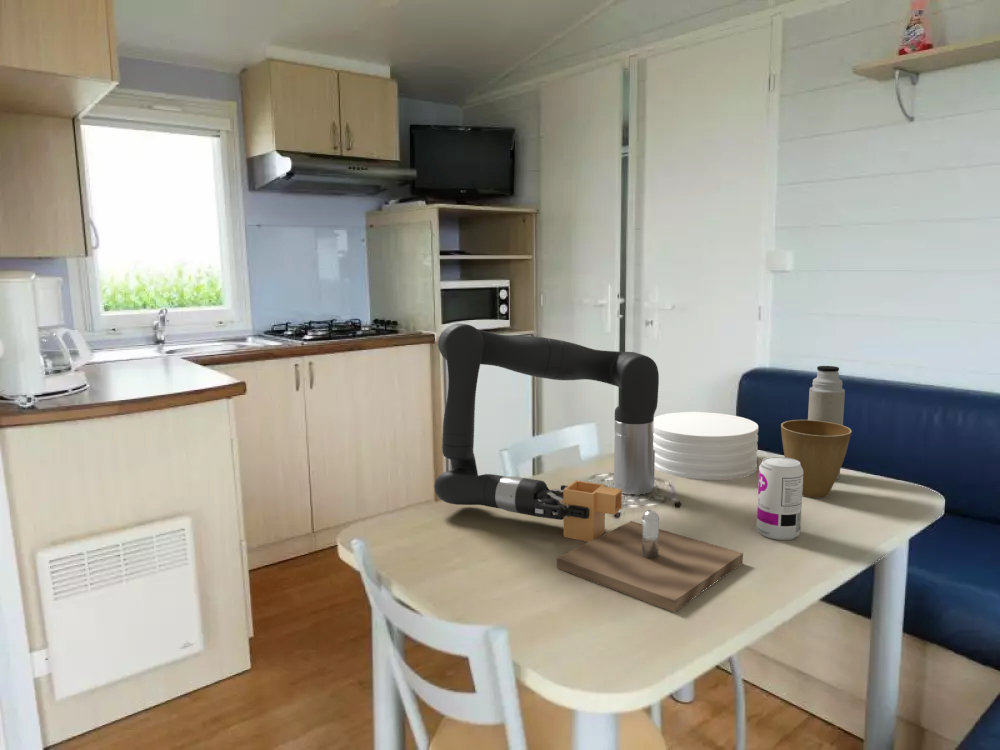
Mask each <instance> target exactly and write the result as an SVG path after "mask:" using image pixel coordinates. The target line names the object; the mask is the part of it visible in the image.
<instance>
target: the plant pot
mask: <svg viewBox="0 0 1000 750" xmlns="http://www.w3.org/2000/svg"><path fill="white" fill-rule="evenodd" d="M780 429H781V441H782V449H783V454H784V457H786V458H791V459H795V460H797V461H799V462H800V465H801V467H802V469H803V489H802V497H806V498H814V499H822V498H825V497H828V496H829V495H830V492H831V490H832V488H833V486H834V484H835V483H836V481H837V479H836V478H837V476H838V474H839V471H840V472H841V469H842V466H843V463H844V461H845V457H846V455H847V450H848V448H849V447H848V446H849V443H850V439H851V435H852V429H851V428H850V427H848V426H845V425H844V424H843V425H840V424H836V423H831V422H824V421H816V420H808V419H792V420H786V421H783V422H782V423H780Z"/></svg>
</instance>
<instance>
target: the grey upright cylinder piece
mask: <svg viewBox="0 0 1000 750" xmlns="http://www.w3.org/2000/svg"><path fill="white" fill-rule="evenodd" d="M641 524H642V556H643V557H644V558H647V559H656V558H658V557H659V529H660V516H659V514H658V513H657V512H656V511H654V510H652V509H650V510H649V509H648V510H647V511H645V512H644V513H643V514H642V517H641Z"/></svg>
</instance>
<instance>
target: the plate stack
mask: <svg viewBox="0 0 1000 750" xmlns="http://www.w3.org/2000/svg"><path fill="white" fill-rule="evenodd" d="M758 433H759V425H758V423H757V422H755V421H753V420H751V419H749V418H745V417H742V416H738V415H732V414H727V413H719V412H707V411H706V412H705V411H704V412H703V411H684V412H682V411H681V412H671V413H669V412H668V413H663V414H661V415H657V416H654V439H653V449H654V450H655V465H654V470H656V471H658V472H661V473H662V474H667V475H670V476H674V477H679V478H684V479H691V480H702V481H707V480H708V481H724V480H725V479H727V480H734V479H735V480H736V479H740V478H744V476H745V477H748V476H751V475H753V474H754V473H755V472H756V471H757V468H758V464H757V461H758V453H757V452H758V450H759V449H758V441H759V434H758ZM752 473H753V474H752ZM750 474H751V475H750ZM747 475H748V476H747Z"/></svg>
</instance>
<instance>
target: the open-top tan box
mask: <svg viewBox="0 0 1000 750" xmlns="http://www.w3.org/2000/svg"><path fill="white" fill-rule="evenodd" d="M567 486H568V487H566V488H565V489H563V503H567V504H570V507H571V505H577V506H583V507H588V508H589V517H588V518H587V519H584V518H578V517H572V516H570V517H564V519H563V537H564V538H569V539H573V540H578V541H584V542H587V543H588V542H590V541H592V540H594V539H596V538H598V537H600V536H602V535H604V534H605V533H604V532H606V515H607V514H608V515H613V516H615V515H616V514H618V512H620V511H621V510H622V509H623V507H622V506H623V503H622V502H623V493H622V489H617V488H614V487H611V486H610V487H609V486H608V487H607V486H606V484H603V483H597V482H588V481H581V480H575V481H573V482H572V483H570V484H569V485H567Z"/></svg>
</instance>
